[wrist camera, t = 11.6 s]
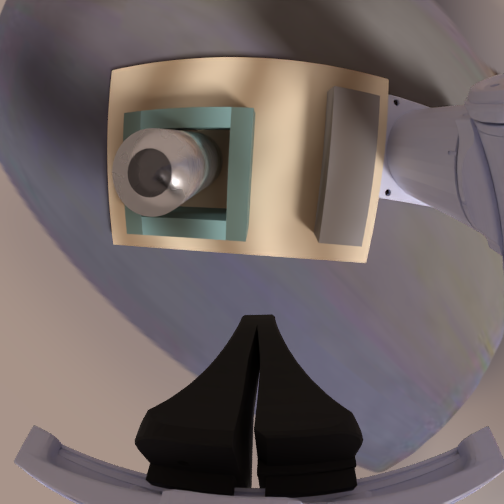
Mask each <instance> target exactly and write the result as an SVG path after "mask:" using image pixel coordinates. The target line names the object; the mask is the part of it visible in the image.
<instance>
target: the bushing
mask: <svg viewBox="0 0 504 504" xmlns="http://www.w3.org/2000/svg"><path fill="white" fill-rule="evenodd" d="M222 163H223V158H222V153H221V150H220V148H219V146H218V144H217V143H216V142H215V141H214V140H213V139H212V138H211V137H209V136H208V135H206V134H203V133H198V132H190V131H181V130H171V129H160V128H147V129H143V130H139V131H137V132H135V133H133V134H132V135H130V136H129V137H128V138H127V139H126V140H125V141H124V142H123V143H122V144H121V146H120V147H119V149H118V151H117V153H116V155H115V158H114V161H113V167H112V178H113V184H114V187H115V190H116V192H117V194H118V196H119V198H120V199H121V201H122V202H123V203H124V204H125V205H126V206H127V207H128V208H129V209H130V210H132V211H133V212H135V213H137V214H140V215H143V216H148V217H156V216H161V215H165V214H167V213H169V212H171V211H173V210H174V209H176V208H177V207H178V206H180V205H181V204H183V203H184V202H185V201H187V200H188V199H190V198H191V197H193V196H194V195H196V194H197V193H199V192H200V191H202V190H203V189H205V188H206V187H208V186H209V185H210V184H212V183H213V182H214V181H215V180H216V179H217V177H218V176H219V174H220V171H221V168H222Z"/></svg>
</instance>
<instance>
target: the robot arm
mask: <svg viewBox="0 0 504 504" xmlns="http://www.w3.org/2000/svg"><path fill="white" fill-rule="evenodd" d="M394 100H396V101H397V106H396V105H395V104H394ZM387 189H388V190H389V193H388V194H387V195H385V191H386V190H387ZM379 198H383V199H390V200H396V201H402V202H408V203H413V204H419V205H424V206H429V207H433V208H435V209H437V210H439V211H441V212H443V213H445V214H447V215H449V216H451V217H453V218H455V219H457V220H458V221H460V222H462V223H464V224H466V225H467V226H469V227H471V228H473V229H474V230H476V231H478V232H480V233H481V234H483V235H484V236H485V237H486V239H487V241H488V244H489V247H490V248H491V249H493V250H494V251H496V252H497V253H499V254H500V255H501V256H503V272H504V73H503V74H499V75H496V76H493V77H490V78H487V79H484V80H482V81H480V82H478V83H476V84H474V85H473V86H472V87H471V88H470V91H469V94H468V97H467V98H466V100H465V105H455V106H444V107H435V108H430V107H427V106H425V105H422V104H419V103H416V102H413V101H410V100H407V99H404V98H400V97H397V96H394V95H388V115H387V130H386V143H385V153H384V162H383V171H382V178H381V186H380V192H379ZM259 372H260V375H259ZM258 379H259V389H258V399H257V409H256V418H255V427H254V432H255V440H256V448H257V456H258V465H257V466H258V467H257V476H258V479H259V486H260V488H251V485H252V447H253V418H254V407H255V400H256V393H257V386H258ZM362 442H363V438H362V433H361V430H360V428H359V425H358V423H357V421H356V419H355V417H354V415H353V414H352V412H350V411H349V410H347V409H346V408H344V407H343V406H341V405H340V404H339V403H337V402H336V401H335V400H333V399H332V398H331V397H330V396H329V395H327V394H326V393H325V392H324V391H323V390H322V389H321V388H320V387H319V386H318V385H317V384H316V383H315V382H314V381H313V380H312V379H311V378H310V377H309V376H308V375H307V374H306V373H305V371H304V370H303V369H302V368H301V366H300V365H299V364H298V363H297V361H296V360H295V358H294V357H293V355H292V354H291V352H290V351H289V349H288V347H287V345H286V344H285V342H284V340H283V338H282V336H281V334H280V332H279V329H278V327H277V324H276V321H275V316H273V315H244V316H243V317H242V319H241V321H240V323H239V325H238V327H237V329H236V330H235V332H234V334H233V335H232V337H231V338H230V340H229V341H228V343H227V344H226V346H225V347H224V349H223V350H222V351H221V352H220V354H219V355H218V356H217V358H216V359H215V360H214V361H213V362H212V363H211V364H210V366H209V367H208V368H207V369H206V370H205V371H204V372H203V373H202V374H201V375H199V376H198V377H197V378H196V379H195V380H194V381H193V382H192V383H190V384H189V385H188V386H187V387H185V388H184V389H183V390H181V391H180V392H178V393H177V394H176V395H174V396H173V397H171V398H170V399H168V400H166V401H165V402H163V403H161V404H159V405H157V406H156V407H153V408H151V409H149V410H148V411H147V413H146V415H145V417H144V418H143V421H142V423H141V425H140V428H139V430H138V433H137V436H136V438H135V445H136V446H137V448H138V450H139V451H140V452H141V453H142V454H143V455H144V457H145V458H146V459H147V460H148V461H149V462H150V466H149V469H148V473H147V474H144V473H140V472H136V471H133V470H129V469H126V468H123V467H119V466H116V465H113V464H110V463H107V462H104V461H101V460H99V459H96V458H93V457H90V456H88V455H86V454H83V453H81V452H78V451H76V450H74V449H71V448H69V447H67V446H64V445H62V444H61V442H59V440H58V439H57V438H56V437H55V436H53V435H52V434H51V433H49V432H47V431H45V430H43V429H41V428H39V427H37V426H35V425H34V426H33V427H32V429H31V431H30V432H29V434H28V436H27V438H26V440H25V441H24V443H23V445H22V447H21V449H20V451H19V452H18V454H17V456H16V458H15V460H14V463H15V464H17V465H18V466H19V467H20V468H21V469H23V470H24V471H25V472H27V473H28V474H29V475H30V476H32V477H33V478H35V479H36V480H37V481H39V482H40V483H42V484H43V485H44V486H46V487H47V488H49V489H51V490H52V491H54V492H56V493H58V494H59V495H61V496H63V497H65V498H67V499H68V500H70V501H72V502H74V503H76V504H454V503H456V502H458V501H460V500H461V499H463V498H465V497H467V496H469V495H470V494H472V493H474V492H475V491H477V490H478V489H480V488H481V487H483V486H484V485H486V484H487V483H488V482H490V481H491V480H493V479H494V478H495V477H497V476H498V475H499V474H501V473H502V472H503V471H504V459H503V456H502V454H501V452H500V449H499V447H498V445H497V443H496V440H495V438H494V436H493V434H492V432H491V430H490V428H489V426H486V427H485V428H482V429H481V430H479V431H477V432H475V433H473V434H471V435H469V436H468V437H466V438H465V439H464V440H463V441H462V442H461V443H460V444H459V445H458V447H456V448H454V449H452V450H450V451H447V452H445V453H442V454H440V455H437V456H435V457H432V458H430V459H427V460H424V461H422V462H419V463H416V464H413V465H410V466H407V467H403V468H400V469H397V470H393V471H390V472H386V473H382V474H378V475H374V476H370V477H365V478H360V479H356V474H355V467H356V460H355V455H356V453H357V452H358V450H359V448H360V447H361V445H362Z"/></svg>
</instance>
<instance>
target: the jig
mask: <svg viewBox="0 0 504 504" xmlns="http://www.w3.org/2000/svg"><path fill="white" fill-rule="evenodd" d="M388 87H389V79H386V78H382V77H378V76H375V75H371V74H367V73H363V72H358V71H354V70H349V69H345V68H340V67H334V66H329V65H323V64H316V63H309V62H302V61H293V60H283V59H270V58H250V57H214V58H194V59H181V60H171V61H163V62H155V63H148V64H142V65H136V66H131V67H126V68H121V69H116V70H112V75H111V85H110V96H109V110H108V136H107V164H108V190H109V206H110V217H111V228H112V237H113V244H115V245H128V246H141V247H154V248H168V249H181V250H194V251H208V252H221V253H235V254H249V255H263V256H276V257H290V258H304V259H318V260H332V261H347V262H361V263H366V261H367V256H368V252H369V247H370V242H371V237H372V233H373V227H374V222H375V217H376V211H377V205H378V199H379V192H380V186H381V178H382V171H383V162H384V153H385V143H386V130H387V115H388ZM147 128H160V129H171V130H181V131H190V132H198V133H203V134H206V135H208V136H209V137H211V138H212V139H213V140H214V141H215V142H216V143H217V144H218V146H219V148H220V150H221V153H222V158H223V163H222V168H221V171H220V174H219V176H218V177H217V179H216V180H215V181H214V182H213V183H212V184H210V185H209V186H208V187H206V188H205V189H203V190H202V191H200V192H199V193H197V194H196V195H194V196H193V197H191V198H190V199H188V200H187V201H185V202H184V203H183V204H181V205H180V206H178V207H177V208H176V209H174V210H173V211H171V212H169V213H167V214H165V215H161V216H156V217H148V216H143V215H140V214H137V213H135V212H133V211H132V210H130V209H129V208H128V207H127V206H126V205H125V204H124V203H123V202H122V201H121V199H120V198H119V196H118V194H117V192H116V190H115V187H114V184H113V178H112V167H113V161H114V158H115V155H116V153H117V151H118V149H119V147H120V146H121V144H122V143H123V142H124V141H125V140H126V139H127V138H128V137H129V136H130V135H132V134H133V133H135V132H137V131H139V130H143V129H147Z"/></svg>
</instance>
